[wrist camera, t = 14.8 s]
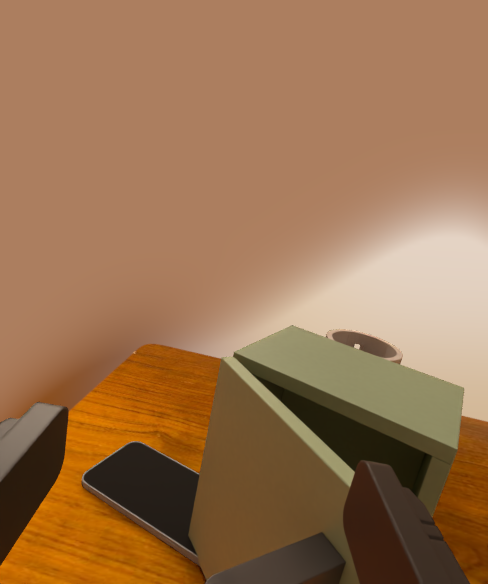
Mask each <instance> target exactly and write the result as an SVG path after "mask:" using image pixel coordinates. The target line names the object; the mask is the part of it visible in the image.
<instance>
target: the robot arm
mask: <svg viewBox="0 0 488 584" xmlns="http://www.w3.org/2000/svg"><path fill="white" fill-rule="evenodd" d="M67 424H68V408H67V407H64V406H57V405H53V404H47V403H41V402H37V403H35V404H34V405H33V406H32V407H31V408H30V409H29V410H28V411H27V412H26V413H25V414H24V415H23V416H22V417H21V418H20V419H14V418H8V419H6V420H4V421H3V422H0V565H1V564H2V562H3V561H4V559H5V558H6V556H7V555H8V553H9V552H10V550H11V549H12V547H13V546H14V544H15V542H16V541H17V539H18V538H19V536H20V535H21V533H22V532H23V530H24V529H25V527H26V526H27V524H28V523H29V521H30V520H31V518H32V517H33V515H34V513H35V512H36V510H37V509H38V507H39V506H40V504H41V503H42V501H43V500H44V498H45V497H46V495H47V494H48V492H49V491H50V489H51V488H52V486H53V484H54V483H55V481H56V479H57V478H58V475H59V473H60V470H61V468H62V464H63V461H64V455H65V445H66V434H67ZM343 527H344V532H345V535H346V539H347V542H348V546H349V549H350V552H351V556H352V559H353V563H354V566H355V569H356V573H357V576H358V580H359V583H360V584H470V583H469V581H468V579H467V578H466V576H465V574H464V572H463V571H462V569H461V567H460V566H459V564H458V562H457V560H456V559H455V557H454V555H453V553H452V552H451V550H450V548H449V546H448V545H447V543H446V542H444V540H443V536H442V534H441V533H440V531H439V529H438V527H437V526H435V522H434V520H433V519H432V517H431V515H430V513H429V512H428V510H427V508H426V506H425V505H424V504H423V503H422V502H421V501H420V500H419V499H418V498H417V497H416V495H415V494H414V493H413V492H412V491H411V490H410V489H409V488H405V487H402V486H401V484H400V482H399V480H398V478H397V476H396V474H395V473H394V471H393V469H392V467H391V466H390V465H387V464H382V463H376V462H370V461H365V460H361V461H360V462H359V463H358V465H357V467H356V470H355V474H354V477H353V480H352V483H351V486H350V489H349V492H348V495H347V498H346V502H345V505H344V510H343Z"/></svg>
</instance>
